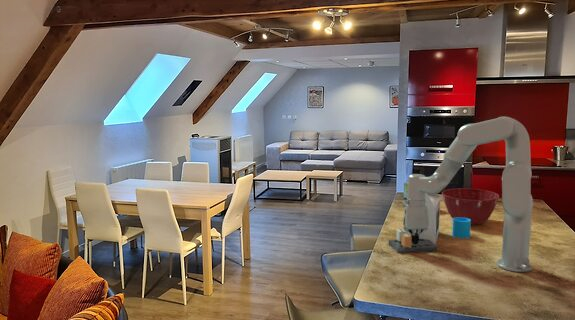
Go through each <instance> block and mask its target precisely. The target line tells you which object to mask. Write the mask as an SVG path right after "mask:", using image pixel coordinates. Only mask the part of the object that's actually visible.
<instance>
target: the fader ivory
mask: <svg viewBox="0 0 575 320" xmlns="http://www.w3.org/2000/svg"><path fill="white" fill-rule="evenodd" d="M395 231H396V232H395V233H396V235H395V236H396V237H395V240H398V241H399V242H401V239H402V235H404V234H406V231H404V230H403V228H397V229H396V230H395Z"/></svg>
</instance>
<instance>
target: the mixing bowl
mask: <svg viewBox="0 0 575 320" xmlns="http://www.w3.org/2000/svg"><path fill="white" fill-rule="evenodd" d="M441 194H442V197H443V198H442V199H443V202H444V205H445V207H446V210H447V212H448V214H449V216H450V217H451V218H452V219H453V218H456V217H463V218H468V219H470V220H471V226H475V225H476V226H477V225H482V223H485V222H486V221H488V220H489V218H490V217H491V215H492V214H493V212H494V210H495V208H496V205H497V203H498V200H499V198H500V195H499V194H498V193H496V192H495V191H494V192H493V191H491V190H490V191H489V190H485V189H479V188H469V187H468V188H463V187H462V188H461V187H460V188H459V187H458V188H450V189H449V188H448V189H444V190H442V191H441Z"/></svg>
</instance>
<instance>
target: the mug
mask: <svg viewBox="0 0 575 320" xmlns="http://www.w3.org/2000/svg"><path fill="white" fill-rule="evenodd" d="M471 226H472V225H471V220H470V219H468V218H463V217H456V218H452V227H451V228H452V230H451V231H452V233H451V234H452V235H451V236H452V237H455V238H458V239H469V238H471Z"/></svg>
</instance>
